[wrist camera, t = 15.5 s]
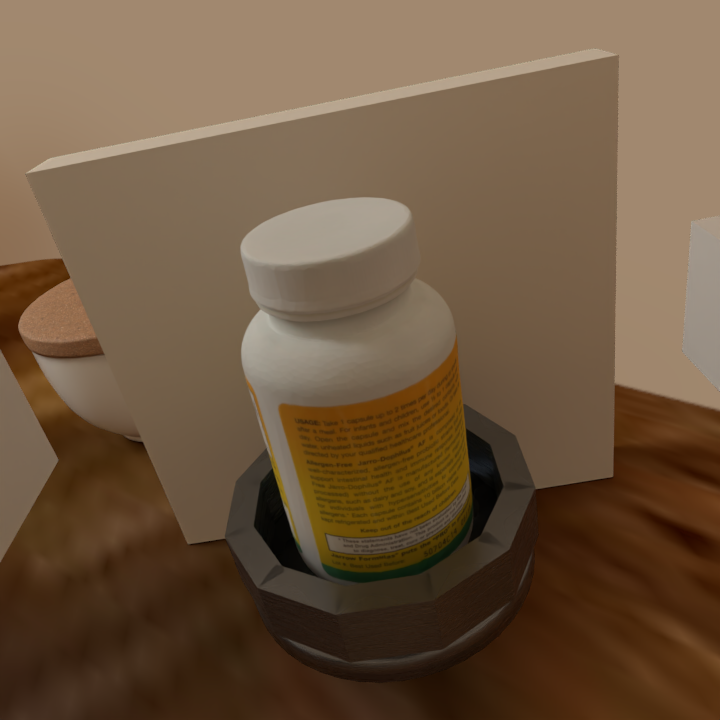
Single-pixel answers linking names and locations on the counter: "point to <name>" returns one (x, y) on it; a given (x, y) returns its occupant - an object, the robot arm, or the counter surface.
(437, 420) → the supplement bottle
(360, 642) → the cup bracket
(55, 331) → the lidded jar
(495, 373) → the wall board
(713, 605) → the counter surface
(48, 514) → the counter surface
